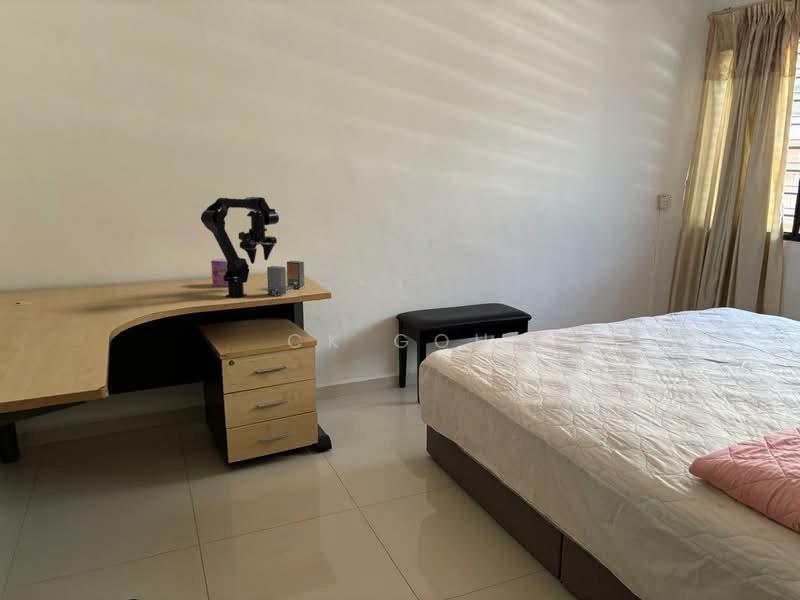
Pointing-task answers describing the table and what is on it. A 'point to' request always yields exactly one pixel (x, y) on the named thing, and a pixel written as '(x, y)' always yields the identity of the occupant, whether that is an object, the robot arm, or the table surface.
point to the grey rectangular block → (295, 273)
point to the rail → (289, 287)
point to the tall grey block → (276, 279)
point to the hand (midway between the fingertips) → (259, 261)
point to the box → (219, 271)
